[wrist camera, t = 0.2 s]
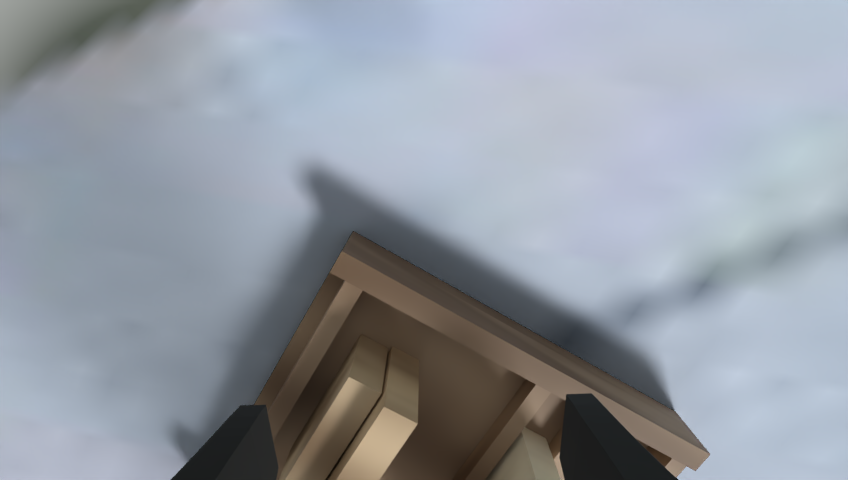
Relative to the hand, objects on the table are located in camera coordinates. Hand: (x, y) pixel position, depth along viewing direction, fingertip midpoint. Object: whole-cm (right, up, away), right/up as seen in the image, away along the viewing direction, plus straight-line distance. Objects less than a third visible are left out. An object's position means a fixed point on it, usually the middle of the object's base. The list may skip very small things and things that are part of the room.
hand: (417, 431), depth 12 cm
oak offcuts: (-4, -4, +11) cm, 12 cm away
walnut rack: (+1, -6, +13) cm, 14 cm away
